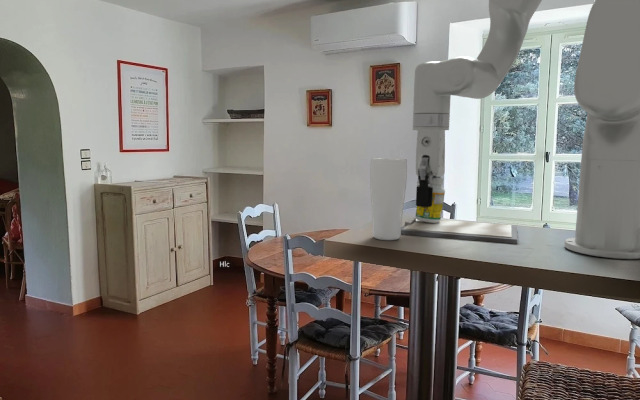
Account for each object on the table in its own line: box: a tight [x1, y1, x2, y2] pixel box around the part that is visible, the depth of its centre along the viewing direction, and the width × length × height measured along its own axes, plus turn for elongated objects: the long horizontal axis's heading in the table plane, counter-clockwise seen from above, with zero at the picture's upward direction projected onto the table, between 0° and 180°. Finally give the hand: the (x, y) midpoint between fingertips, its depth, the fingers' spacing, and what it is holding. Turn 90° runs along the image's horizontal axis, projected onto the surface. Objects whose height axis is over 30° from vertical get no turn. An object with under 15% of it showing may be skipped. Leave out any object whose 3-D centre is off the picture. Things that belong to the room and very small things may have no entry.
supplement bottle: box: [414, 176, 446, 223], centre depth 103 cm, size 5×5×10 cm
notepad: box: [401, 217, 518, 245], centre depth 98 cm, size 22×16×2 cm
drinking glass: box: [369, 157, 408, 241], centre depth 90 cm, size 7×7×15 cm
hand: (427, 203), depth 103 cm, fingers open, 9 cm apart
